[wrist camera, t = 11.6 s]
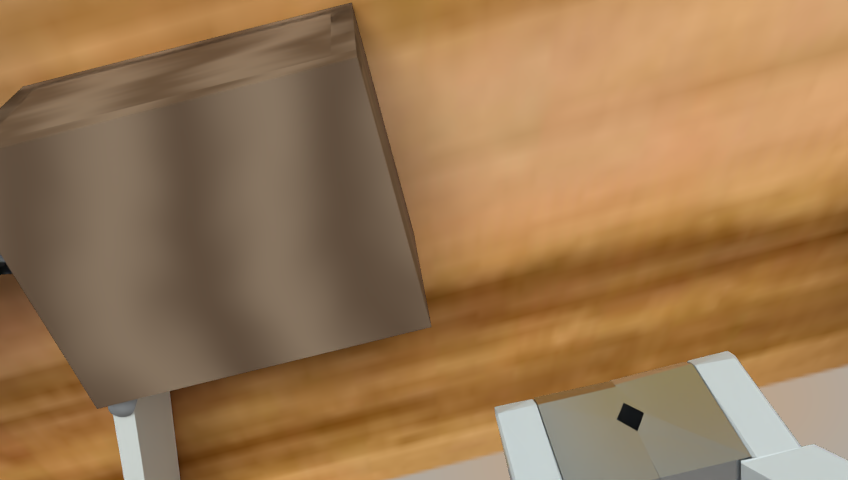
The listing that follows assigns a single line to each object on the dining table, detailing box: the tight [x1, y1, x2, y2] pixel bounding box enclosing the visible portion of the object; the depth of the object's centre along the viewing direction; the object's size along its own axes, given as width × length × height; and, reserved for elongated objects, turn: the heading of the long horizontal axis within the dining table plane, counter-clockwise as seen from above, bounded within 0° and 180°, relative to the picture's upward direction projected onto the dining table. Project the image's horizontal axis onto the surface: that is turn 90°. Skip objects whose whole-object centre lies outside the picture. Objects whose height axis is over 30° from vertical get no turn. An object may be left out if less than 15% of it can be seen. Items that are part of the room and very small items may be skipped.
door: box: [108, 391, 180, 480], centre depth 43 cm, size 15×2×7 cm, turn 175°
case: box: [0, 3, 431, 409], centre depth 35 cm, size 16×13×8 cm
